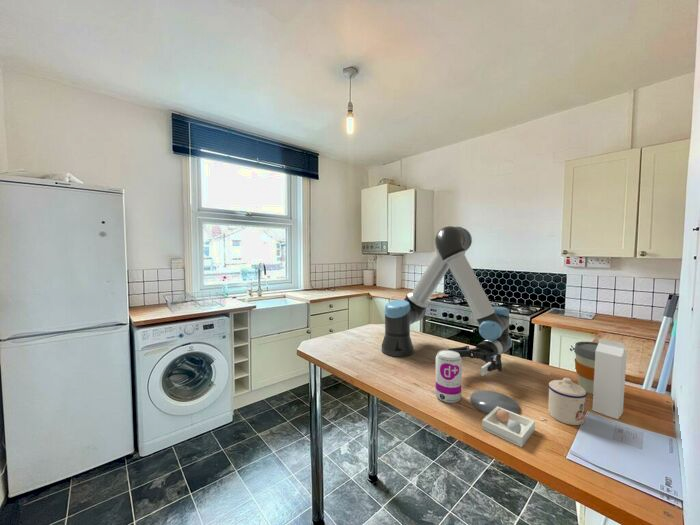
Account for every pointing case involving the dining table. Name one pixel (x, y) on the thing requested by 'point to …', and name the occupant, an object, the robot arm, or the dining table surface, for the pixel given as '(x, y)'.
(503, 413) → the ball terracotta
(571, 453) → the dining table surface
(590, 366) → the reusable coffee cup
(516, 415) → the ball dish
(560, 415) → the teacup with lid
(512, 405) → the slate coaster
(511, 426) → the ball grey
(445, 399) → the supplement can
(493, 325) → the robot arm
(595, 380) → the milk
